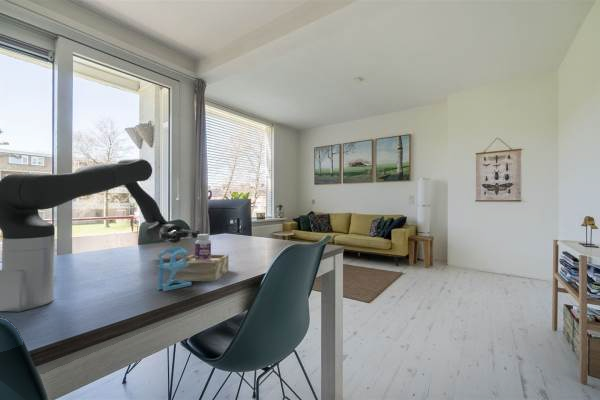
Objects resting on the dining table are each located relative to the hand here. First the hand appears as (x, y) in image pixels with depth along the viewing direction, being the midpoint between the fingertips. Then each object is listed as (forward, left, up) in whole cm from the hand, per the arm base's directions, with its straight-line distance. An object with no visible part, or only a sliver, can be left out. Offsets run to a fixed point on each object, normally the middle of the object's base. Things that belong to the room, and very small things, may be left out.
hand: (187, 236), depth 101 cm
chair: (-20, -5, -13) cm, 25 cm away
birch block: (-7, -9, -13) cm, 17 cm away
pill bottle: (-7, -9, -8) cm, 14 cm away
